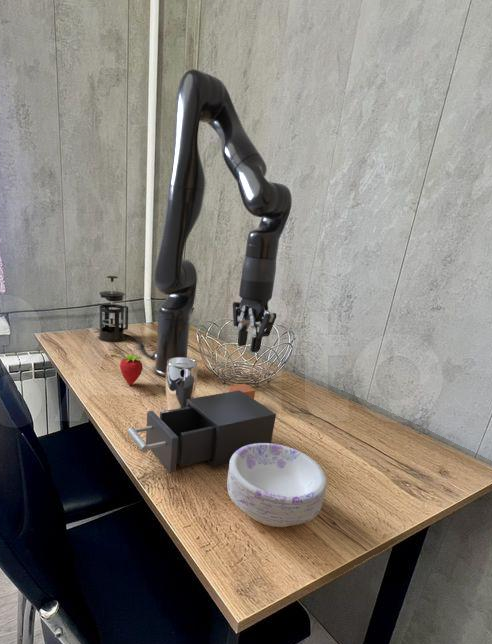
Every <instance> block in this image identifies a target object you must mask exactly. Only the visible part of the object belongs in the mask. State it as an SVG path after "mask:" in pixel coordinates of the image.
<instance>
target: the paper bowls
mask: <svg viewBox="0 0 492 644" xmlns="http://www.w3.org/2000/svg"><path fill="white" fill-rule="evenodd" d="M327 479H328V478H327V476H326V473H325V471H324V469H323V468H322V466H321V465H320V464H318V462H317V461H315V460H314V459H313V458H312V457H311V456H309V455H308V454H305V453H304V452H301V451H299V450H298V449H295V448H292V447H290V446H288V445H287V446H286V445H282V444H278V443H272V442H271V443H256V444H250V445H246V446H244V447H242V448H240V449H238V450H237V451H236V452H235V453H234V454H233V455H232V457H231V459H230V464H228V472H227V481H226V489H227V492H228V495H229V498H230V499H231V501H232V502H233V504H234V505H235V506H236V507H237V508H239V509H240V510H241V511H242V512H243V513H245V514H246V515H247V516H248V517H250V518H251V519H252V520H254V521H256V522H258V523H260V524H263V525H265V526H269V527H273V528H284V527H285V528H286V527H290V526H297V525H301V524H305V523H307V522H310V521H312V520H313V519H315V518H316V517H317V516H318V515H319V514H320V512H321V509H322V506H323V503H324V498H325V494H326V489H327V487H328V480H327Z"/></svg>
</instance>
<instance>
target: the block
mask: <svg viewBox="0 0 492 644" xmlns="http://www.w3.org/2000/svg"><path fill="white" fill-rule="evenodd" d="M238 390H240V391H242V392H243V393H245V394H246V395H248V396H249V397H251V398H252V399H254V400H255V397H256V396H255V394H256V389H254V388H252V387H251V386H249V385H247V384H246V383H240V384H239V383H238V384H233V385H230V386H229V391H228V392H233V391H238Z"/></svg>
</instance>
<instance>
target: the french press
mask: <svg viewBox="0 0 492 644" xmlns="http://www.w3.org/2000/svg"><path fill="white" fill-rule="evenodd" d="M106 279H110V283H111V290H105V291H100V292H99V295H100V298H101V299H105V300H106V301H108V302H110V303H105V304H101V305H99V335H98V339H99V340H100V341H104V342H109V343H114V342H121V341H123V340H124V339H125V336H124V334H125V333H124V332H125V331H127V330H128V329H129V306H127V305H122V304H116V303H115V302H122V301H123V300H124V296H125V293H124V292H122V291H115V290H113V286H114V285H113V284H114V280H115V279H119V277H118V276H117V275H107V276H106ZM113 302H114V303H113ZM103 313H104V318H103ZM124 313H125V316H124ZM110 314H111V315H110ZM113 314H114V318H113ZM124 317H125V318H124ZM124 319H125V320H124ZM102 324H103V325H104V327H102ZM124 324H125V325H124Z"/></svg>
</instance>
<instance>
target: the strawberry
mask: <svg viewBox="0 0 492 644" xmlns="http://www.w3.org/2000/svg"><path fill="white" fill-rule="evenodd" d="M134 353H135V351H133V352H132V354H131V355H130V354H126V356H122V358H123V359H121V361H120V364H119V369H120V372H121V375H122V376H123V378H124V380H125V381H126V383H127V384H128V385H129V386H132V385H134V383H136V381H137V380H138V379H139V378H140V376H141V374H142V372H143V370H144V369H143V363H142V362H141V360H140V359H143V357H142V356H135V355H134Z"/></svg>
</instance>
